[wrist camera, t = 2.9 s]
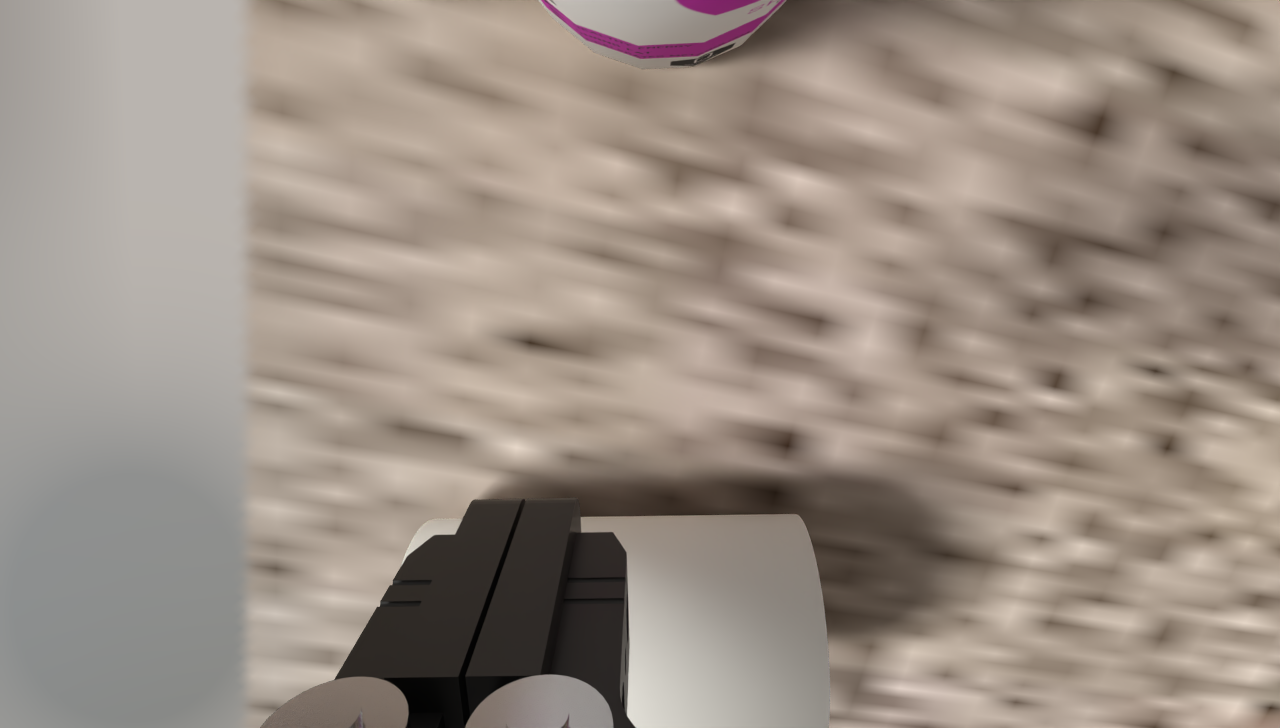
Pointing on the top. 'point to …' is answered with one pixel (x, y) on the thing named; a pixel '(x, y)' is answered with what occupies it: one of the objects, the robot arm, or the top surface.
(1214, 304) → the top surface
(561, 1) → the supplement can
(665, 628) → the roll
